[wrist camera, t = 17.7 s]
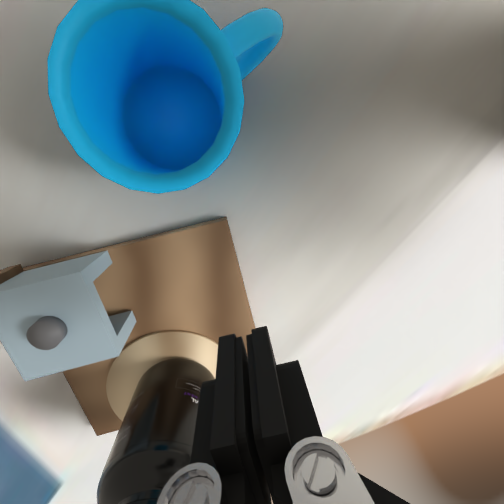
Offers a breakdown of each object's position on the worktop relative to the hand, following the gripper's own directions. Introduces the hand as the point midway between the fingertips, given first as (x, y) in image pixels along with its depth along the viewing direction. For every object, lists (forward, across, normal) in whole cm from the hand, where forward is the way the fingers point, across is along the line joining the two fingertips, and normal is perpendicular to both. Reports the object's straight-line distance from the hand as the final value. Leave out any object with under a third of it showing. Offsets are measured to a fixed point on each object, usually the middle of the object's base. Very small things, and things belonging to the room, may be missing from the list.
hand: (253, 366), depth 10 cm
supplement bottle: (+12, +8, +10) cm, 18 cm away
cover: (+12, +12, 0) cm, 17 cm away
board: (+13, +9, +5) cm, 17 cm away
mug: (+14, +1, -11) cm, 18 cm away
